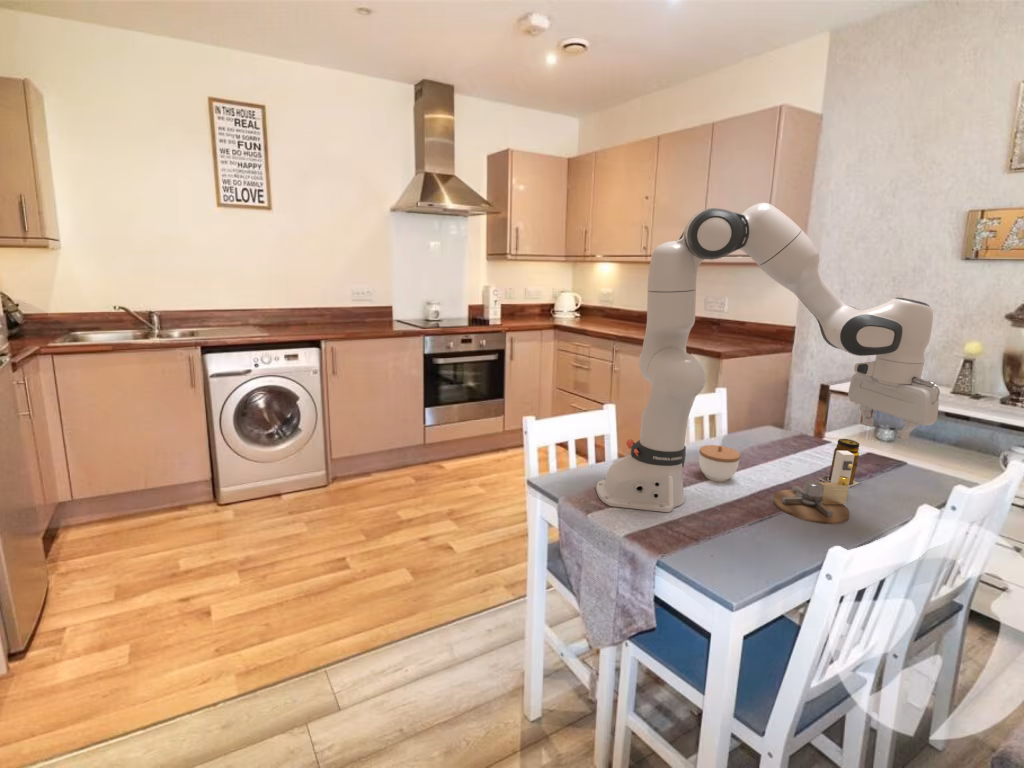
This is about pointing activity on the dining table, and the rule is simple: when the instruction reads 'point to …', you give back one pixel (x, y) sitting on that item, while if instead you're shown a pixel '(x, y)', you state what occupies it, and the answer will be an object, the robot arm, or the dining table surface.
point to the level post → (842, 465)
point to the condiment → (851, 447)
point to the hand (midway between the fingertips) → (883, 431)
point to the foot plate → (811, 510)
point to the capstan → (820, 494)
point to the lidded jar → (718, 462)
